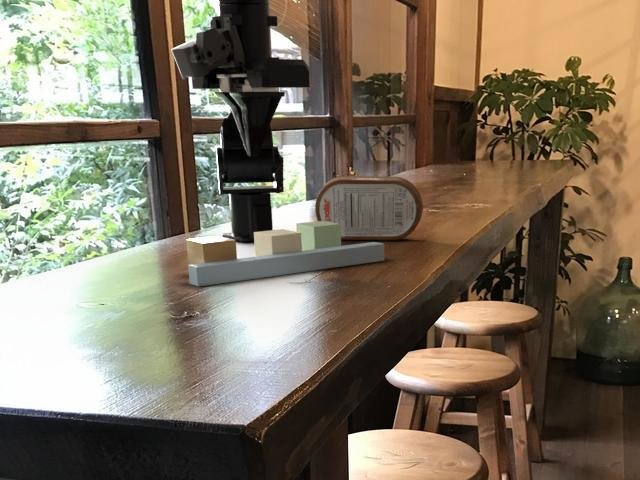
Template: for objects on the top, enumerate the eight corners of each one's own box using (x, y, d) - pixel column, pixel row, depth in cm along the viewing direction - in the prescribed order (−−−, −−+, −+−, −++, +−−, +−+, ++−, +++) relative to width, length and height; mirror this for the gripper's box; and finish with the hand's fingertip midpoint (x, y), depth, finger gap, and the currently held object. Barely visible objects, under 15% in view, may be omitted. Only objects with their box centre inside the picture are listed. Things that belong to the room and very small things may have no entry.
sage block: (297, 256, 102) (296, 223, 100) (323, 253, 104) (322, 220, 102) (315, 260, 99) (313, 226, 97) (341, 257, 101) (340, 223, 99)
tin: (422, 238, 115) (423, 175, 111) (421, 241, 112) (422, 177, 108) (317, 237, 116) (315, 175, 113) (314, 241, 113) (312, 177, 110)
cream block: (255, 267, 95) (253, 232, 93) (284, 263, 97) (283, 229, 95) (273, 272, 92) (271, 235, 90) (302, 268, 94) (301, 232, 93)
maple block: (189, 276, 90) (186, 239, 89) (221, 272, 92) (218, 235, 91) (206, 281, 87) (202, 243, 86) (238, 277, 90) (235, 239, 88)
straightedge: (189, 283, 86) (187, 264, 85) (374, 258, 100) (374, 241, 99) (198, 286, 85) (196, 267, 84) (384, 260, 98) (384, 243, 98)
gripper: (143, 9, 93) (159, 155, 100) (215, -6, 80) (228, 164, 86) (230, 14, 99) (239, 151, 106) (311, 0, 85) (315, 159, 92)
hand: (253, 155), depth 97 cm, fingers closed
